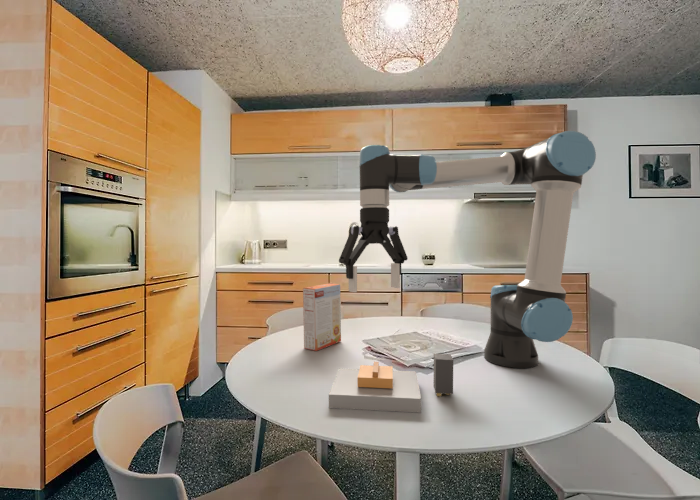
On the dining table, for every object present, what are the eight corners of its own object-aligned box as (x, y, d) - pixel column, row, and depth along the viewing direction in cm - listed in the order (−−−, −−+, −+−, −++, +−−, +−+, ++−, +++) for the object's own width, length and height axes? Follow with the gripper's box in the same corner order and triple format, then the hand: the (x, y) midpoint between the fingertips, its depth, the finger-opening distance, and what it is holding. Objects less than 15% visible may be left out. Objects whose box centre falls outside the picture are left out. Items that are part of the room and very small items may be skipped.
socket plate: (415, 382, 94) (415, 371, 94) (421, 412, 78) (421, 398, 78) (339, 379, 96) (338, 368, 96) (328, 407, 80) (328, 394, 80)
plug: (450, 390, 89) (450, 354, 89) (452, 398, 85) (453, 359, 85) (433, 390, 89) (433, 353, 89) (435, 397, 85) (435, 359, 85)
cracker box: (328, 339, 134) (328, 282, 134) (341, 341, 131) (341, 283, 130) (302, 348, 123) (302, 286, 122) (315, 351, 119) (315, 288, 119)
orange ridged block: (392, 375, 90) (392, 361, 90) (392, 388, 82) (392, 373, 82) (360, 373, 91) (360, 360, 91) (357, 386, 83) (357, 372, 83)
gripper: (402, 210, 104) (402, 284, 104) (324, 206, 90) (325, 291, 91) (420, 208, 97) (420, 287, 98) (340, 204, 84) (341, 295, 85)
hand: (374, 289), depth 94 cm, fingers open, 13 cm apart
